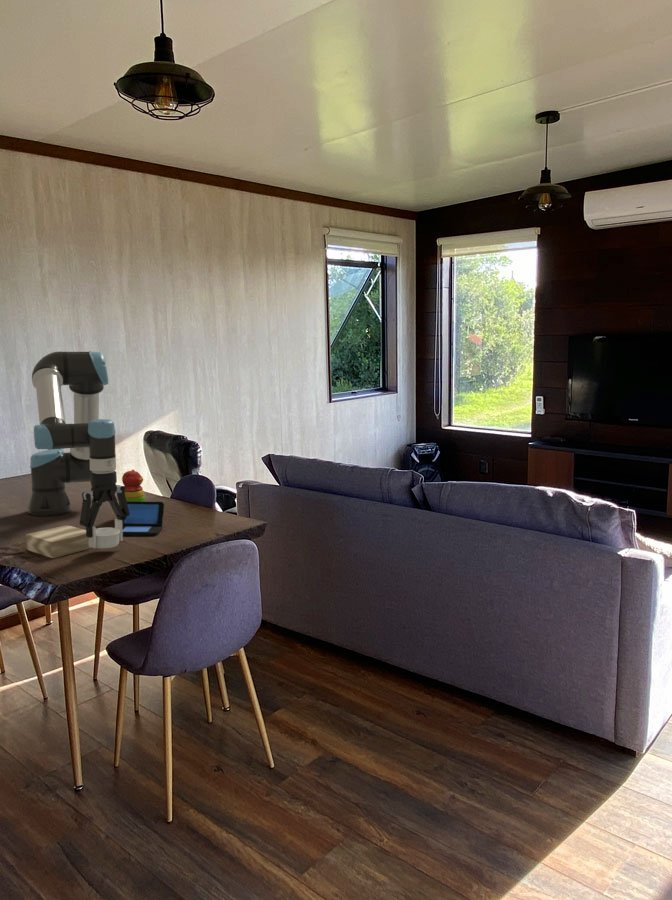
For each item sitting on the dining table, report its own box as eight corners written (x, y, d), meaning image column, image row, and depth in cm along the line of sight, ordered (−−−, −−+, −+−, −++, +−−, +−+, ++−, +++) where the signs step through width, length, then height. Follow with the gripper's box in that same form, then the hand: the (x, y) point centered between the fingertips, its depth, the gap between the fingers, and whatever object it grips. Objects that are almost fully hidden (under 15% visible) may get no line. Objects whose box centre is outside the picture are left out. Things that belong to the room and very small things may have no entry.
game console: (109, 537, 229) (108, 510, 227) (120, 526, 242) (119, 501, 241) (157, 536, 229) (156, 510, 228) (165, 526, 243) (164, 501, 242)
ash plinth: (27, 549, 213) (26, 534, 212) (67, 539, 224) (66, 524, 223) (52, 558, 205) (52, 542, 204) (93, 547, 216) (92, 532, 215)
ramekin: (123, 540, 215) (123, 527, 215) (116, 549, 207) (115, 535, 206) (95, 540, 215) (94, 527, 214) (86, 549, 206) (85, 535, 205)
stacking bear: (139, 522, 246) (137, 474, 244) (113, 521, 248) (111, 472, 245) (153, 515, 257) (151, 468, 254) (128, 513, 259) (126, 467, 256)
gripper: (79, 478, 196) (82, 554, 200) (140, 467, 213) (142, 537, 217) (63, 475, 200) (67, 549, 204) (125, 464, 218) (127, 533, 221)
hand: (106, 543), depth 210 cm, fingers closed on ramekin, 9 cm apart
